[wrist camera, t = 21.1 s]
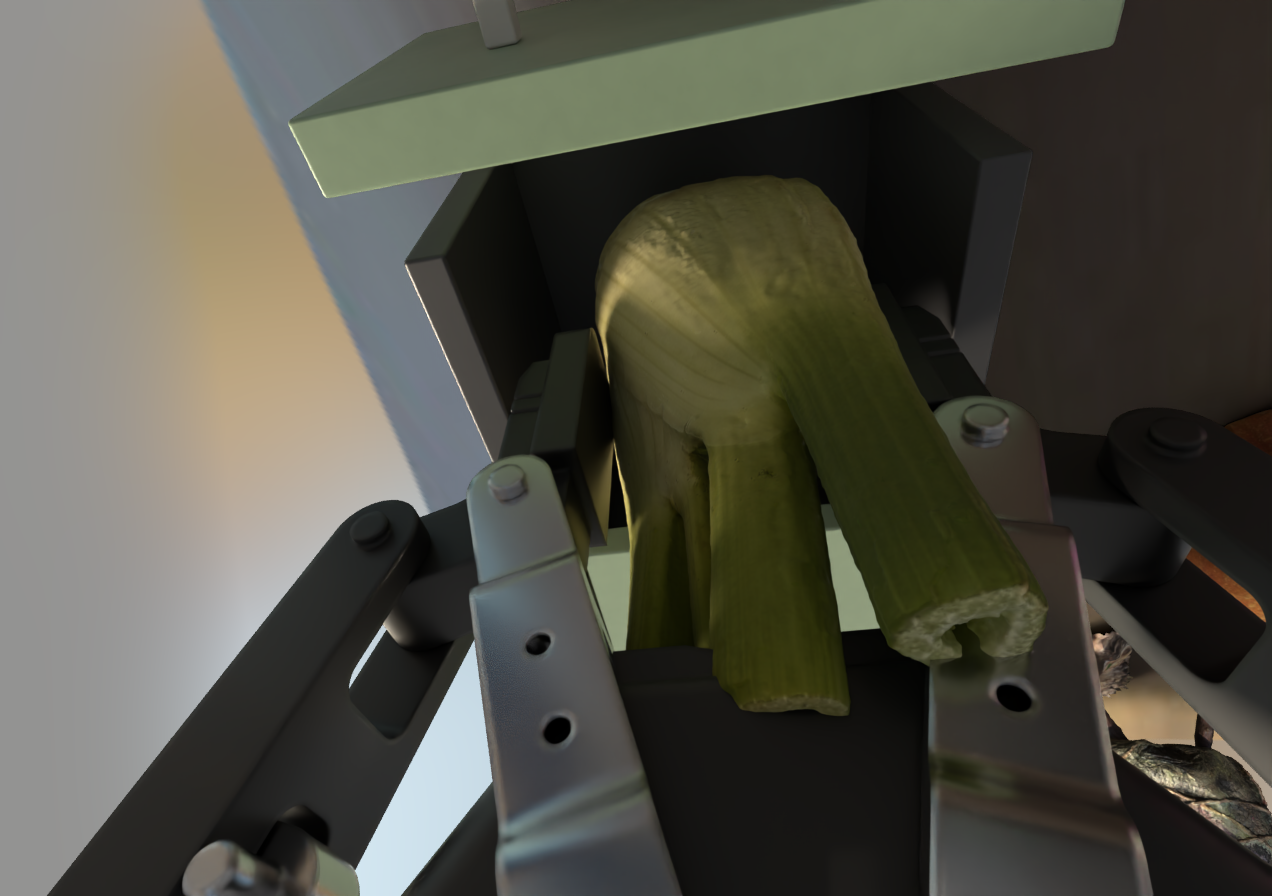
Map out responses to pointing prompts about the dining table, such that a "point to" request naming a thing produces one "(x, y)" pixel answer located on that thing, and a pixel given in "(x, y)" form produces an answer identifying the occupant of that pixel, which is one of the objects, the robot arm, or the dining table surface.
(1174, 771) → the grey irregular tall piece
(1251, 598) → the bread roll
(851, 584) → the green drawer cabinet
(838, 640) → the fennel bulb
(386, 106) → the green pull-out drawer
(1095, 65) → the dining table surface
